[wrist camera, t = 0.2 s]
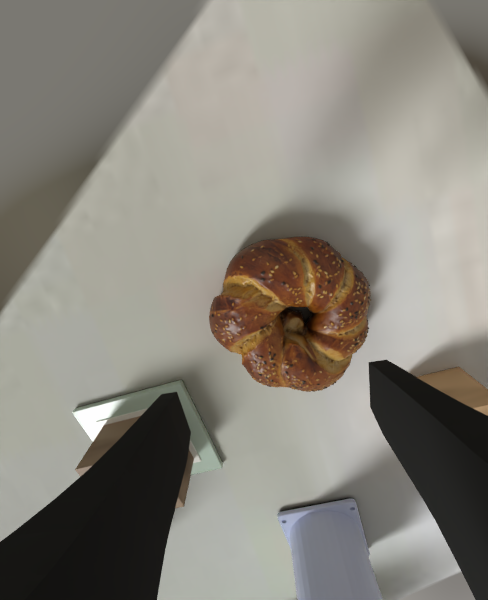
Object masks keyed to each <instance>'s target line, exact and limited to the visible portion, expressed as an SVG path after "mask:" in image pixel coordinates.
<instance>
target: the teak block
mask: <svg viewBox="0 0 488 600" xmlns="http://www.w3.org/2000/svg"><path fill="white" fill-rule="evenodd" d="M417 378H419V379H420V380H422V381H424V382H425V383H427V384H429V385H431V386H432V387H434V388H436V389H438V390H440V391H441V392H443V393H445V394H447V395H449V396H450V397H452V398H454V399H456V400H458V401H460V402H462V403H463V404H465V405H467V406H469V407H471V408H473V409H475V410H477V411H479V412H481V413H483V414H485V415H487V416H488V389H486V388H485V387H484V386H483V385H481V384H480V383H479V382H477V381H476V380H475V379H474V378H472V377H471V376H470V375H469V374H467V373H466V372H465V371H463V370H462V369H461V368H460V367H456V368H452V369H448V370H443V371H439V372H435V373H431V374H427V375H423V376H419V377H417Z"/></svg>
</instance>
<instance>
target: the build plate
mask: <svg viewBox="0 0 488 600" xmlns="http://www.w3.org/2000/svg"><path fill="white" fill-rule="evenodd" d="M172 392H177V393H178V396H179V399H180V402H181V405H182V408H183V410H184V413H185V416H186V419H187V422H188V425H189V428H190V431H191V436H190V445H189V450H190V452H191V454H192V456H193V458H194V461H193V466H192V471H191V475H193V474H198V473H202V472H207V471H211V470H216V469H220V468H222V465H223V463H222V461H221V459H220V457H219V455H218V453H217V450H216V448H215V446H214V444H213V442H212V440H211V438H210V436H209V434H208V432H207V430H206V428H205V426H204V424H203V422H202V420H201V418H200V416H199V414H198V412H197V410H196V408H195V406H194V404H193V402H192V400H191V398H190V396H189V394H188V392H187V390H186V387H185V385H184V383H183V381H182V380H179V381H175V382H171V383H167V384H164V385H160V386H156V387H153V388H149V389H145V390H141V391H138V392H134V393H130V394H127V395H123V396H119V397H115V398H112V399H108V400H104V401H101V402H97V403H93V404H89V405H86V406H82V407H78V408H76V409H75V410H74V411H73V412H72V413H73V414H74V416H75V417H76V419H77V420H78V422H79V423H80V424H81V426H82V427H83V429H84V430H85V432H86V433H87V434H88V436H89V437H90V439H91V440H92V441H94V440H95V438H96V437H97V435H98V433H99V432H100V430H101V429H102V427H103V426H104V425H107V424H111V423H115V422H119V421H123V420H127V419H131V418H134V417H138V416H141V415H142V414H143V413H144V412H145V411H146V410H147V409H148V408H149V407H150V406H151V405H152V403H153V402H154V401H155V400H156V399H157V398H158V397H159V396H160V395H161V394H165V393H172Z"/></svg>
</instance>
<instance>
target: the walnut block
mask: <svg viewBox="0 0 488 600" xmlns="http://www.w3.org/2000/svg"><path fill="white" fill-rule="evenodd" d="M139 418H140V416H138V417H134V418H131V419H127V420H123V421H119V422H115V423H111V424H107V425H104V426H103V427H102V429H101V430H100V432H99V433H98V435H97V437H96V438H95V440H94V441H93V443H92V444H91V446H90V447H89V449H88V451H87V452H86V454H85V455H84V457H83V458H82V460H81V461H80V463H79V464H78V466H77V468H76V469H75V470H76V471H77V473H78V474H79V475H80V476H82V475H83V474H84V473H85V472H86V471H87V470H88V469H89V468H91V467H92V466H93V465H94V464H95V463H96V462H97V461H98V460H99V459H100V458H101V457H102V456H103V455H104V454H105V453H106V452H107V451H108V450H109V449H110V448H111V447H112V446H113V445H114V444H115V443H116V442H117V441H118V440H119V439H120V438H121V437H122V436H123V435H124V434H125V432H126V431H127V430H128V429H129V428H130V427H131V426H132V425H133V424H134V423H135V422H136V421H137V420H138V419H139ZM193 461H194V458H193V456H192V454H191V452H190V450H189V452H188V459H187V463H186V468H185V472H184V476H183V480H182V484H181V487H180V491H179V495H178V499H177V503H176V507H175V508H179V507H184V504H185V499H186V494H187V490H188V485H189V480H190V476H191V471H192V466H193Z"/></svg>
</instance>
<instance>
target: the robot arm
mask: <svg viewBox="0 0 488 600" xmlns="http://www.w3.org/2000/svg"><path fill="white" fill-rule="evenodd" d="M369 381H370V407H371V409H372V412H373V414H374V416H375V418H376V420H377V422H378V425H379V427H380V429H381V431H382V433H383V435H384V436H385V438H386V440H387V441H388V443H389V445H390V446H391V448H392V450H393V451H394V453H395V455H396V456H397V458H398V459H399V461H400V463H401V464H402V466H403V468H404V469H405V471H406V472H407V474H408V476H409V477H410V479H411V480H412V482H413V484H414V485H415V487H416V489H417V490H418V492H419V493H420V495H421V497H422V498H423V500H424V501H425V503H426V505H427V507H428V508H429V510H430V512H431V514H432V515H433V517H434V519H435V520H436V522H437V524H438V526H439V528H440V530H441V532H442V534H443V536H444V538H445V540H446V542H447V544H448V546H449V548H450V549H451V551H452V553H453V555H454V557H455V559H456V561H457V563H458V565H459V567H460V569H461V571H462V573H463V575H464V577H465V579H466V581H467V583H468V585H469V587H470V589H471V591H472V593H473V595H474V597H475V599H476V600H488V416H487V415H485V414H483V413H481V412H479V411H477V410H475V409H473V408H471V407H469V406H467V405H465V404H463V403H462V402H460V401H458V400H456V399H454V398H452V397H450V396H449V395H447V394H445V393H443V392H441V391H440V390H438V389H436V388H434V387H432V386H431V385H429V384H427V383H425V382H424V381H422V380H420V379H419V378H417V377H415V376H413V375H412V374H410V373H408V372H407V371H405V370H403V369H402V368H400V367H398V366H396V365H395V364H393V363H391V362H389V361H388V360H382V361H375V362H369ZM190 436H191V431H190V428H189V425H188V422H187V419H186V416H185V413H184V410H183V408H182V405H181V402H180V399H179V396H178V393H177V392H172V393H165V394H161V395H160V396H159V397H158V398H157V399H156V400H155V401H154V402H153V403H152V405H151V406H150V407H149V408H148V409H147V410H146V411H145V412H144V413H143V414H142V415H141V416H140V418H139V419H138V420H137V421H136V422H135V423H134V424H133V425H132V426H131V427H130V428H129V429H128V430H127V431H126V432H125V434H124V435H123V436H122V437H121V438H120V439H119V440H118V441H117V442H116V443H115V444H114V445H113V446H112V447H111V448H110V449H109V450H108V451H107V452H106V453H105V454H104V455H103V456H102V457H101V458H100V459H99V460H98V461H97V462H96V463H95V464H94V465H93V466H92V467H91V468H89V469H88V470H87V471H86V472H85V473H84V474H83V475H82V476H81V477H80V478H79V479H78V480H76V481H75V482H74V483H73V484H72V485H71V486H70V487H68V488H67V489H66V490H65V491H64V492H63V493H61V494H60V495H59V496H58V497H57V498H56V499H54V500H53V501H52V502H51V503H50V504H48V505H47V506H46V507H44V508H43V509H42V510H41V511H39V512H38V513H37V514H36V515H34V516H33V517H32V518H31V519H29V520H28V521H27V522H26V523H24V524H23V525H22V526H21V527H19V528H18V529H17V530H16V531H14V532H13V533H12V534H10V535H9V536H8V537H6V538H5V539H4V540H2V541H1V542H0V600H157V595H158V588H159V583H160V577H161V571H162V565H163V559H164V554H165V548H166V544H167V539H168V534H169V530H170V526H171V522H172V518H173V515H174V511H175V507H176V503H177V499H178V495H179V491H180V487H181V484H182V480H183V476H184V472H185V468H186V463H187V459H188V452H189V445H190ZM278 520H279V523H280V525H281V527H282V530H283V532H284V534H285V536H286V539H287V541H288V543H289V546H290V548H291V552H292V560H293V568H294V576H295V585H296V593H297V600H383V598H382V595H381V592H380V589H379V586H378V583H377V580H376V577H375V574H374V571H373V568H372V565H371V562H370V559H369V555H370V553H369V549H368V545H367V542H366V538H365V534H364V530H363V527H362V523H361V519H360V515H359V512H358V508H357V504H356V501H355V500H354V499H351V498H350V499H344V500H339V501H334V502H329V503H324V504H318V505H313V506H308V507H303V508H298V509H292V510H287V511H282V512H279V513H278Z"/></svg>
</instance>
